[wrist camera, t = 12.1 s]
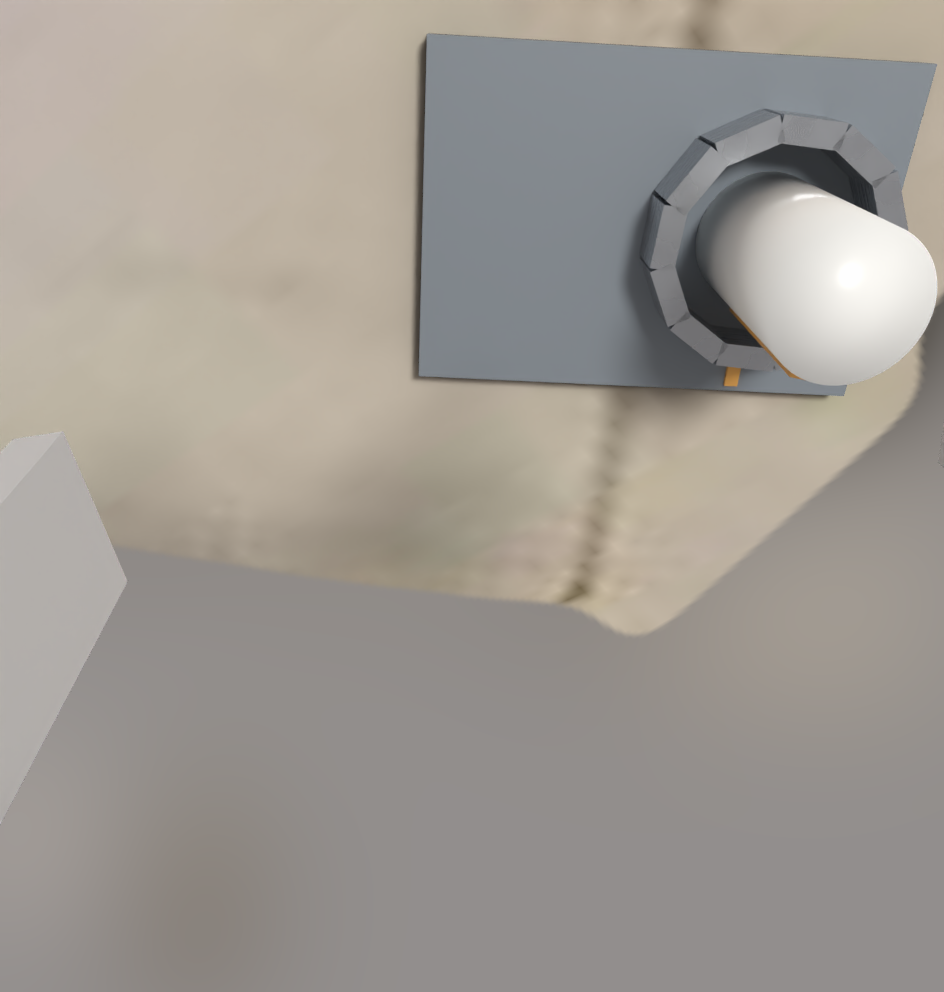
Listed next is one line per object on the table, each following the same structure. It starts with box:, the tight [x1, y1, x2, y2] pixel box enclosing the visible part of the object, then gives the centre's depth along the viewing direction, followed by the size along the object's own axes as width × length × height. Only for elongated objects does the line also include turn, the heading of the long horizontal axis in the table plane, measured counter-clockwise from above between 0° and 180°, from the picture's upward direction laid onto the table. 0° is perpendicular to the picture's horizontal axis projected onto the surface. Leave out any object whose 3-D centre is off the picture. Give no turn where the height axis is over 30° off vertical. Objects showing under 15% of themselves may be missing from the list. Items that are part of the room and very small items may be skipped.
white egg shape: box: [696, 171, 937, 386], centre depth 33 cm, size 6×6×10 cm
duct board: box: [419, 33, 937, 396], centre depth 37 cm, size 20×14×1 cm
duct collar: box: [639, 108, 908, 372], centre depth 36 cm, size 10×10×2 cm
